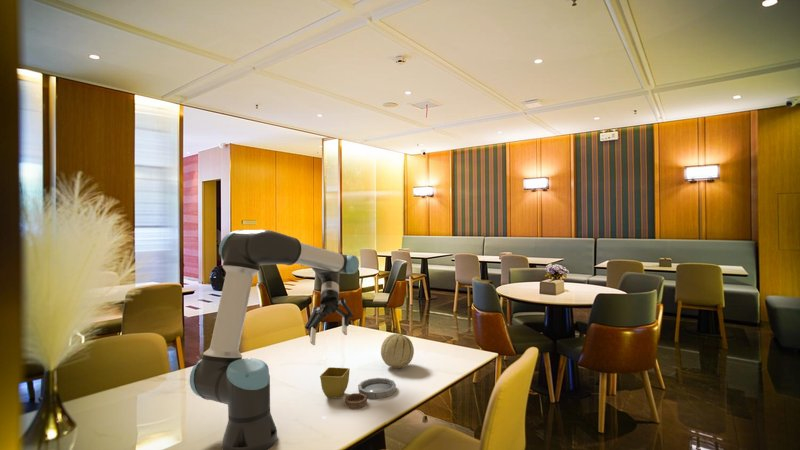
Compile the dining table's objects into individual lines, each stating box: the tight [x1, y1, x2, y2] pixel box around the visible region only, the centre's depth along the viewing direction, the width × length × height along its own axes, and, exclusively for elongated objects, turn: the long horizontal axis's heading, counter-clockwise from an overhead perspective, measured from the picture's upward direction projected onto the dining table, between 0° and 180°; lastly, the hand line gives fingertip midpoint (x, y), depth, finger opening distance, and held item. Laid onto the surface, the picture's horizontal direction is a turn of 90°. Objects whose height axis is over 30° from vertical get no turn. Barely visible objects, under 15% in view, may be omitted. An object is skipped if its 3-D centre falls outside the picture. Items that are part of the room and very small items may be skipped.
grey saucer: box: [357, 377, 397, 399], centre depth 152 cm, size 14×14×2 cm
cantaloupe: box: [380, 331, 415, 369], centre depth 176 cm, size 15×15×15 cm
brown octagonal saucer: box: [344, 392, 368, 410], centre depth 141 cm, size 8×8×2 cm
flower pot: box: [319, 366, 350, 399], centre depth 148 cm, size 9×9×9 cm
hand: (328, 338), depth 151 cm, fingers open, 13 cm apart
